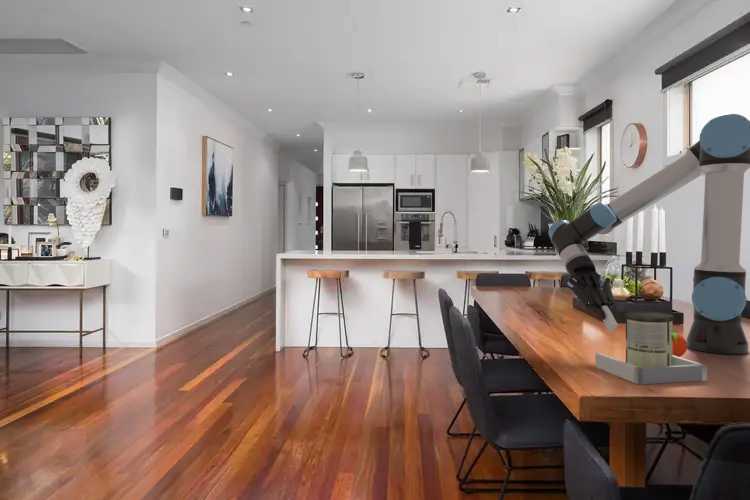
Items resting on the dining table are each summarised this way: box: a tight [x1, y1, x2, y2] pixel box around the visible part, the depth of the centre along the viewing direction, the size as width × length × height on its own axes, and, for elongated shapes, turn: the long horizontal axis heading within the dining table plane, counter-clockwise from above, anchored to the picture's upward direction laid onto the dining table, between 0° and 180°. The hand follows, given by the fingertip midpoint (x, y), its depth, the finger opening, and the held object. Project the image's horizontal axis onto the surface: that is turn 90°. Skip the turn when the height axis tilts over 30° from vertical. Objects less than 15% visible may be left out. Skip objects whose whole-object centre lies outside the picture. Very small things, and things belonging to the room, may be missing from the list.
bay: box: [594, 352, 708, 385], centre depth 125 cm, size 16×17×4 cm
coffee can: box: [624, 310, 674, 367], centre depth 126 cm, size 10×10×14 cm
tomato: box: [672, 331, 688, 357], centre depth 141 cm, size 8×7×7 cm
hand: (613, 328), depth 139 cm, fingers closed
